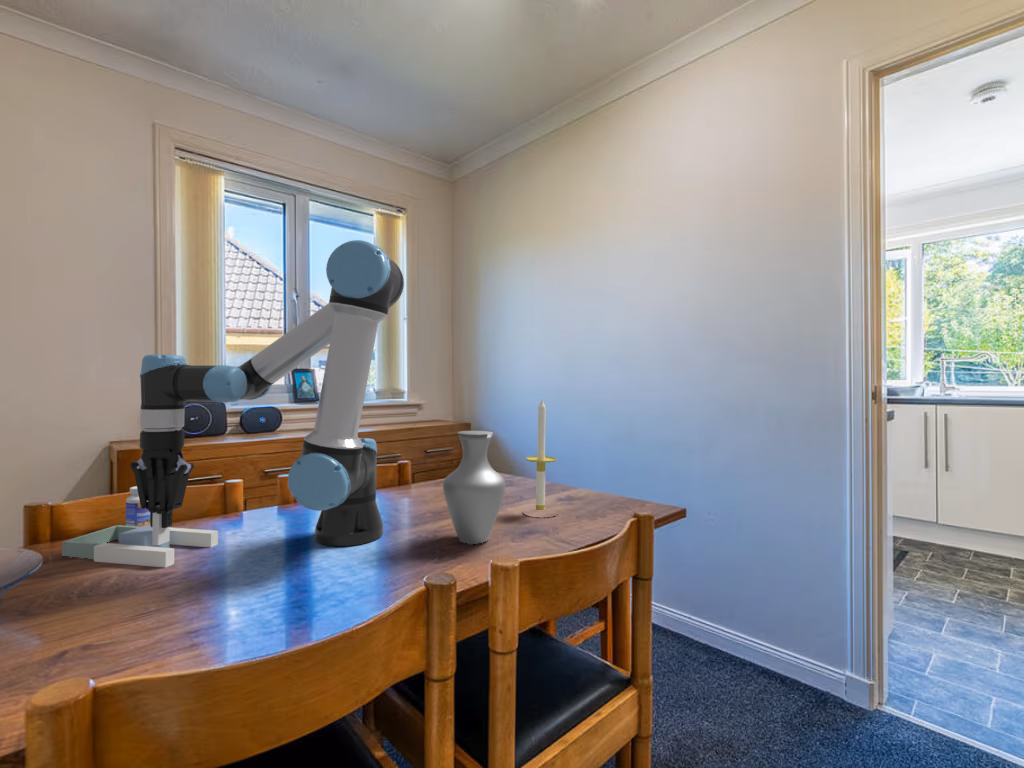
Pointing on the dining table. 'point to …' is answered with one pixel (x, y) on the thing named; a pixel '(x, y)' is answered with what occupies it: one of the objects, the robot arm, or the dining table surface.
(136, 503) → the pill bottle
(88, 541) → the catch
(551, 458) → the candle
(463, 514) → the vase
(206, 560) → the dining table surface
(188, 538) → the chute
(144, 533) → the block
